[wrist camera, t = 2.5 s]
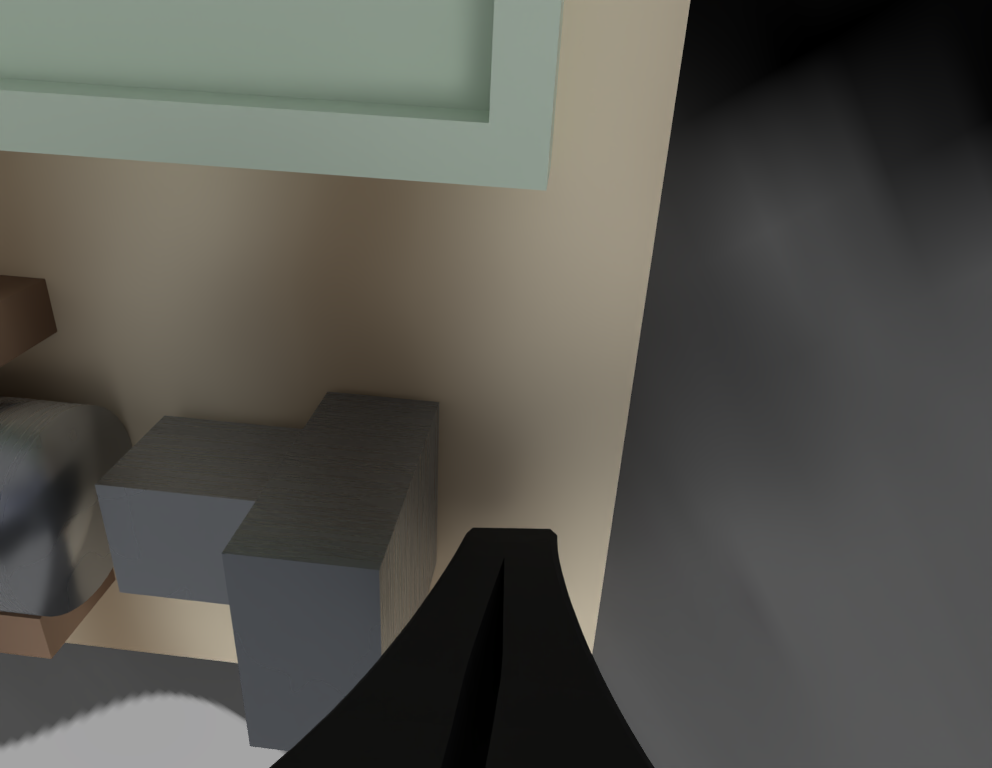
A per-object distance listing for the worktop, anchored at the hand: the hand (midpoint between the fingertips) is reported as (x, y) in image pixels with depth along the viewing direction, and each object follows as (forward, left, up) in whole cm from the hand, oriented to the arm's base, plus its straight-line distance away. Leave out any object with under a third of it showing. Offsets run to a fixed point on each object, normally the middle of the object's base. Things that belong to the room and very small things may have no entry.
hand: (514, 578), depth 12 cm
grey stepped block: (+4, 0, -2) cm, 5 cm away
